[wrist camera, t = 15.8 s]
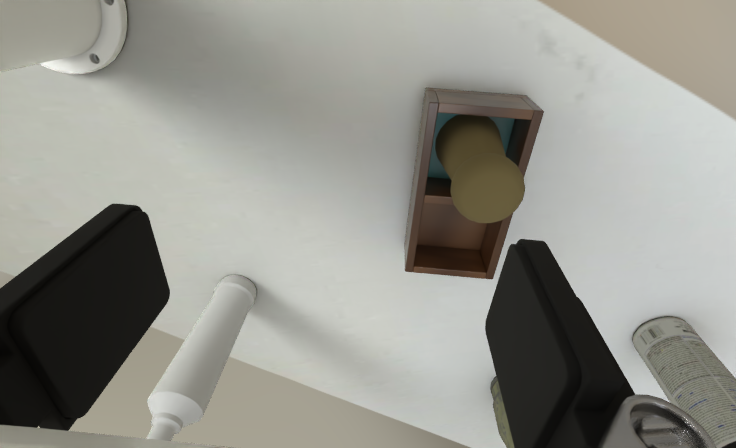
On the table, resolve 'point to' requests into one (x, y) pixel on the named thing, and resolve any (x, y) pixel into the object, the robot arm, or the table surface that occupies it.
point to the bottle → (200, 359)
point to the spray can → (690, 376)
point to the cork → (479, 169)
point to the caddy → (432, 183)
